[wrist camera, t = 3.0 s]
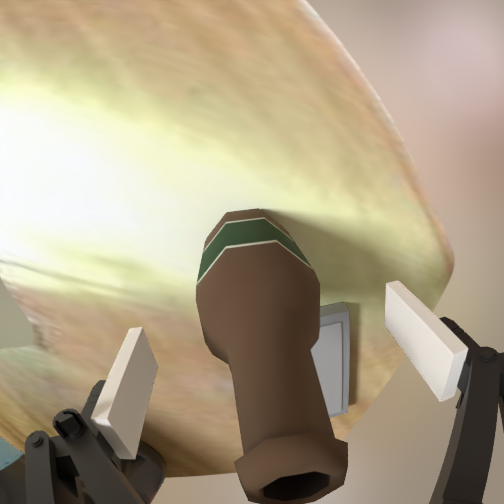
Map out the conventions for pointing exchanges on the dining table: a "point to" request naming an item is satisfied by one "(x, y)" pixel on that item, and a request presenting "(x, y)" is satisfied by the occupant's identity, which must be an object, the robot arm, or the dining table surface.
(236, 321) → the beer bottle
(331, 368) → the slate stand
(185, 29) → the dining table surface
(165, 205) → the dining table surface
